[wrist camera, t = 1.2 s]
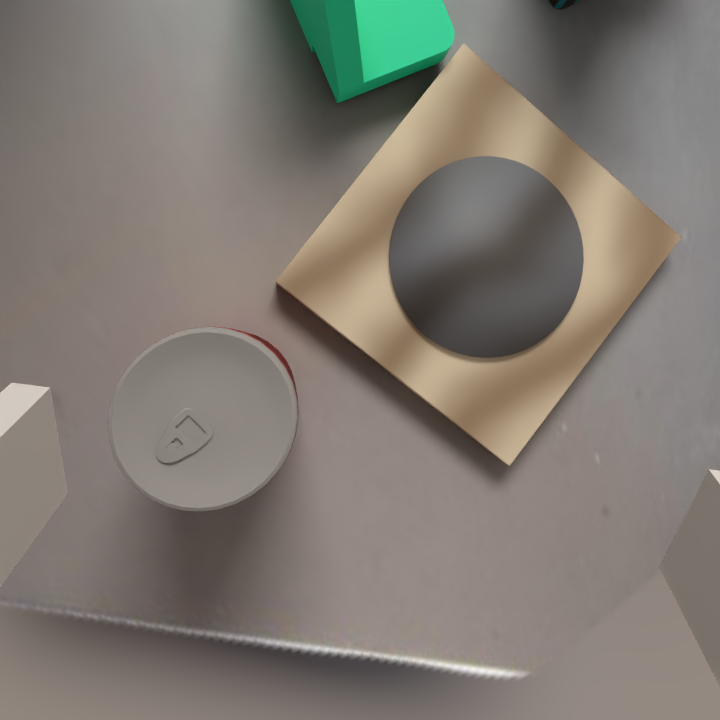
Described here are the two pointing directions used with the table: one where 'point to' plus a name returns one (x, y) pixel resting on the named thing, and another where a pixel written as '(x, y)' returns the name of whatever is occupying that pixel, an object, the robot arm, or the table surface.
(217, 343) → the canned food
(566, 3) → the surveillance camera
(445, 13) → the camera mount
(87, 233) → the table surface
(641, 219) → the wooden square board
